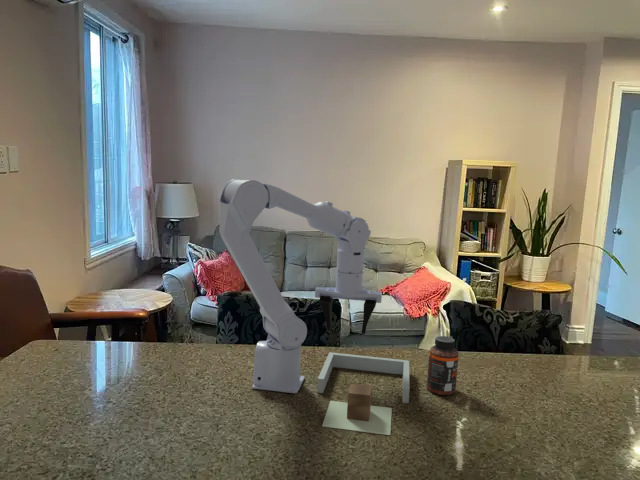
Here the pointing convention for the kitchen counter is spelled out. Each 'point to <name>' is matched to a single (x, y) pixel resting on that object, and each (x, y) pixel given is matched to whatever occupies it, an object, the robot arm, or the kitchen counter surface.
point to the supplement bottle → (442, 366)
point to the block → (359, 402)
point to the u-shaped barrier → (365, 368)
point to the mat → (376, 424)
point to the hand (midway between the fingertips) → (346, 331)
